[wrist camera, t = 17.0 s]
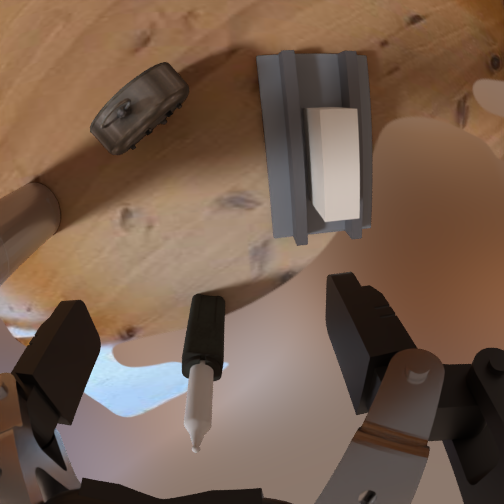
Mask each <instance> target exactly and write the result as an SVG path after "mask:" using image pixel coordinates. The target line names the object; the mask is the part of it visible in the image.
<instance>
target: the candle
mask: <svg viewBox="0 0 504 504" xmlns="http://www.w3.org/2000/svg"><path fill="white" fill-rule="evenodd" d="M224 321H225V300H224V299H223V298H222V297H220V296H217V297H213V296H205V295H201V294H196V295H194V296H193V298H192V303H191V308H190V314H189V320H188V325H187V331H186V337H185V343H184V349H183V355H182V374H183V376H185V377H186V378H189V382H188V391H187V400H186V408H185V417H184V426H185V428H186V429H187V431H188V432H189V434H190V437H191V441H192V444H193V447H192V451H193V452H195V453H197V452H199V451H200V447H199V446H200V444H201V442H202V439H203V437H204V435H205V434H206V433H207V432H208V431H209V430H210V428H211V419H212V395H213V381H217V380H219V379H220V378H221V375H222V369H223V359H224Z"/></svg>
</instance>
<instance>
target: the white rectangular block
mask: <svg viewBox="0 0 504 504" xmlns="http://www.w3.org/2000/svg"><path fill="white" fill-rule="evenodd" d="M303 116H304V128H305V140H306V154H307V169H308V186H309V200H310V202H311V203H312V204H313V206H314V207H315V209H316V210H317V211H318V213H319V214H320V215H321V217H322V218H323V220H324V221H325V222H330V221H339V220H349V219H358V218H359V215H360V163H359V132H358V114H357V109H354V108H341V107H319V108H303Z"/></svg>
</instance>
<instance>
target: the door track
mask: <svg viewBox="0 0 504 504" xmlns="http://www.w3.org/2000/svg"><path fill="white" fill-rule="evenodd" d="M256 62H257V71H258V80H259V89H260V99H261V108H262V118H263V128H264V138H265V148H266V158H267V169H268V180H269V191H270V202H271V213H272V225H273V236H274V238H281V237H290V236H293V237H294V239H295V242H296V244H297V246H298V245H307V244H308V234H317V233H326V232H336V231H346V232H347V234H348V235H349V236H350V238H351V239H359V238H362V229H363V228H371V212H372V125H371V104H370V89H369V77H368V66H367V56H365V55H357V54H356V51H343V52H341V53H338V54H295V53H294V50H283V51H281V52H280V53H279V54H278V55H263V56H256ZM319 107H341V108H354V109H357V114H358V132H359V163H360V215H359V218H358V219H349V220H339V221H330V222H325V221H324V220H323V218H322V217H321V215H320V214H319V213H318V211H317V210H316V209H315V207H314V206H313V204H312V203H311V202H310V200H309V186H308V169H307V154H306V140H305V128H304V116H303V108H319Z"/></svg>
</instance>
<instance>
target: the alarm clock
mask: <svg viewBox="0 0 504 504" xmlns="http://www.w3.org/2000/svg"><path fill="white" fill-rule="evenodd" d="M188 93H189V86H188V85H187V83H186V82H185V81H184V80H183V79H182V78H181V76H180V75H179V74H178V73H177V72H176V71H175V70H174V69H173V68H172V66H171V65H170V64H169V63H167V62H163V63H160V64H157V65H155V66H153V67H151V68H149V69H147V70H146V71H144V72H143V73H141V74H140V75H138V76H137V77H136V78H134V79H133V80H131V81H130V82H129V83H127V84H126V85H125V86H124V87H123V88H122V89H120V90H119V91H118V92H117V93H116V94H115V95H114V96H113V97H112V98H111V99H110V100H109V101H108V102H107V103H106V104H105V106H104V107H103V108H102V109H101V110H100V112H99V113H98V114H97V116H96V117H95V119H94V120H93V122H92V123H91V126H90V132H91V133H92V134H93V135H94V136H95V137H96V138H97V139H98V140H99V142H100V143H101V144H102V145H103V146H104V147H105V148H106V149H107V150H108V152H109V153H111V154H112V155H120V154H123V153H125V152H126V151H128V150H129V149H130V148H131V149H132V150H134V149H135V148H136V146H135V144H136V143H138V142H139V141H140V140H141V139H142V138H143V137H145V136H146V135H149V134H150V133H152V130H153V129H154V128H155V127H156V126H157V125H159V124H160V123H161V124H166V123H167V120H165V118H166V117H170V116H171V115H172V114H173V111H174V110H175V109H176V108H181V107H182V105H181V104H182V103H183V101H184V100H185V99H186V98H187V96H188Z"/></svg>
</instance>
